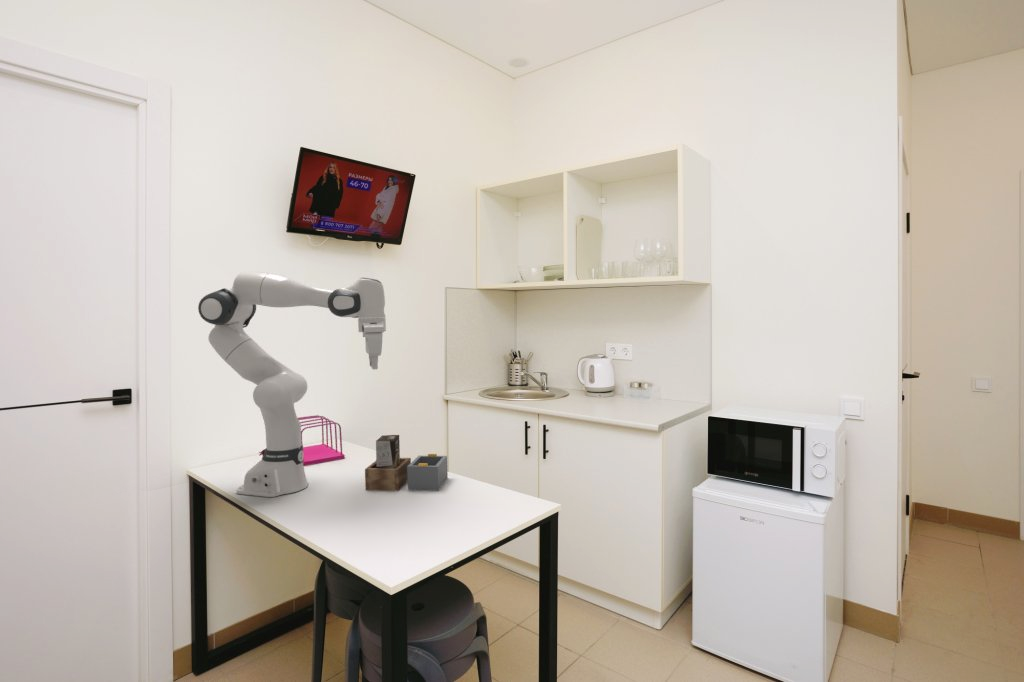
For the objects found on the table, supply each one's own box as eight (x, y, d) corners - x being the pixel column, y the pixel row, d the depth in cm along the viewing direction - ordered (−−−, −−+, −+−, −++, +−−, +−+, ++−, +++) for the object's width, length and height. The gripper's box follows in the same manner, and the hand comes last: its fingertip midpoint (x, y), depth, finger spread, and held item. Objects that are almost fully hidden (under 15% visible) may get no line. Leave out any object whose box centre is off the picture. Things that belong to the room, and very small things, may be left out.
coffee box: (395, 487, 180) (393, 440, 179) (376, 487, 180) (375, 440, 179) (401, 479, 189) (400, 434, 188) (383, 479, 189) (381, 434, 188)
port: (408, 490, 177) (407, 464, 177) (419, 477, 190) (418, 453, 190) (438, 490, 176) (437, 464, 175) (447, 477, 189) (447, 453, 189)
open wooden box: (365, 489, 178) (364, 469, 178) (380, 476, 192) (380, 457, 192) (398, 490, 177) (397, 469, 176) (411, 476, 191) (410, 457, 191)
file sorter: (301, 467, 207) (299, 427, 206) (283, 454, 227) (282, 418, 226) (345, 458, 218) (343, 421, 217) (324, 447, 237) (323, 412, 236)
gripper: (360, 326, 185) (362, 365, 186) (364, 327, 166) (365, 371, 167) (379, 325, 187) (380, 364, 188) (384, 326, 168) (386, 370, 169)
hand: (373, 367), depth 177 cm, fingers open, 8 cm apart
